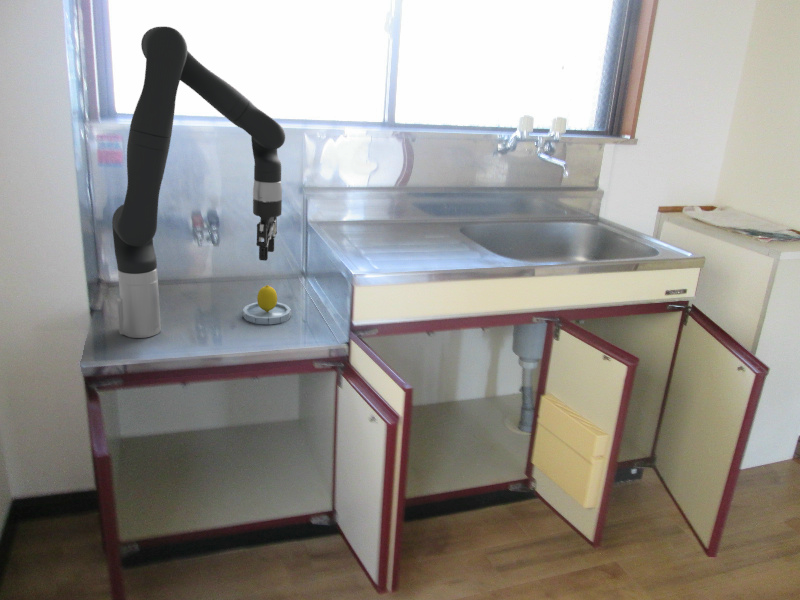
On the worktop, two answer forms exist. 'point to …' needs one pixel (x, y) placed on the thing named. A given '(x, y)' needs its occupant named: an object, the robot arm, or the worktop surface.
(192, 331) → the worktop surface
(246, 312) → the dish
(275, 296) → the lemon
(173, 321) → the worktop surface
